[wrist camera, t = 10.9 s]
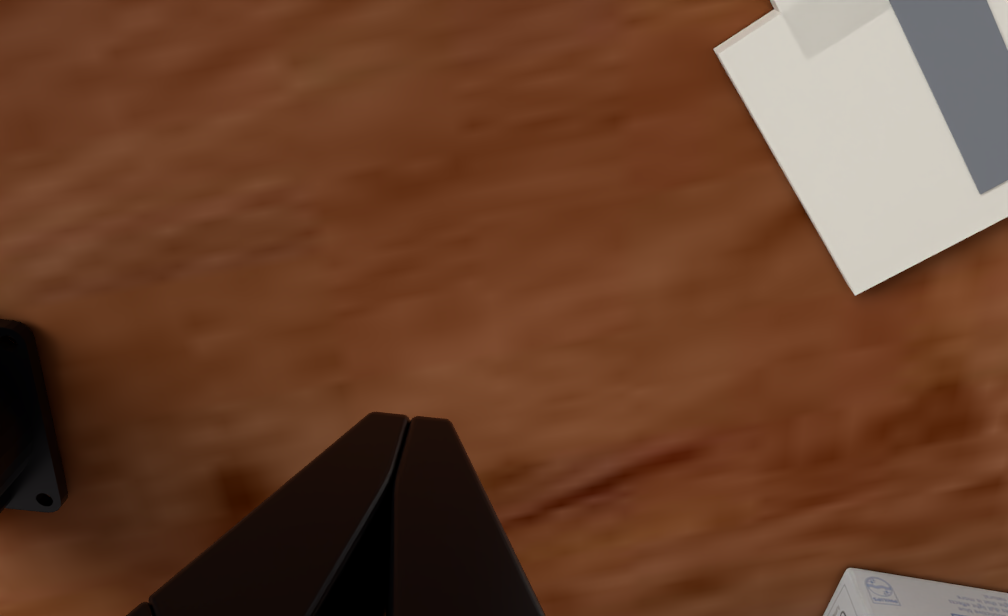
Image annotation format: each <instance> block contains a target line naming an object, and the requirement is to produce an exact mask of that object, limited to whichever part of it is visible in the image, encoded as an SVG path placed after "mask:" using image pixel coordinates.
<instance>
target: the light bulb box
mask: <svg viewBox="0 0 1008 616" xmlns="http://www.w3.org/2000/svg"><path fill="white" fill-rule="evenodd" d="M823 616H1008V593H1004V592H998V591H992V590H986V589H980V588H974V587H968V586H962V585H956V584H949V583H943V582H937V581H931V580H925V579H918V578H912V577H906V576H900V575H893V574H887V573H881V572H875V571H869V570H863V569H857V568H848V569H847V570H846V571H845V573H844V575H843V577H842V579H841V581H840V583H839V585H838V587H837V589H836V591H835V593H834V595H833V596H832V598H831V600H830V603H829V605H828V607H827V609H826V611H825V613H824V615H823Z"/></svg>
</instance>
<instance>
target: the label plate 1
mask: <svg viewBox="0 0 1008 616" xmlns="http://www.w3.org/2000/svg"><path fill="white" fill-rule="evenodd" d="M816 1H817V2H816ZM770 2H771V4H772V6H773V8H774V9H775V10H776V11H778V12H780V13H781V14H782V16H783V18H784V20H785V22H786V24H787V26H788V28H789V30H790V31H791V33H792V35H793V37H794V39H795V41H796V43H797V45H798V47H799V49H800V50H801V52H802V54H803V56H804V58H805V60H806V61H808V60H809V59H811V58H812V57H814V56H816V55H817V54H819V53H820V52H822V51H824V50H825V49H827V48H828V47H830V46H832V45H833V44H835V43H836V42H838V41H840V40H841V39H843V38H845V37H846V36H848V35H849V34H851V33H853V32H854V31H856V30H857V29H859V28H861V27H862V26H864V25H865V24H867V23H869V22H870V21H872V20H873V19H875V18H877V17H878V16H880V15H881V14H883V13H885V12H886V11H888V10H889V9H891V8H892V6H891V4H890V2H889V0H854V1H853V0H821V1H820V0H770ZM802 3H803V4H802ZM835 6H836V7H835ZM800 8H801V9H802V10H801V9H800ZM809 8H810V9H809ZM826 8H827V9H826ZM859 9H860V10H859ZM785 10H786V11H785ZM788 10H789V11H788ZM867 11H868V12H867ZM805 12H806V13H805ZM808 12H809V13H808ZM797 14H798V15H797ZM875 15H876V16H875ZM847 16H848V17H847ZM851 16H852V17H851ZM799 20H800V21H799ZM805 21H806V22H805ZM805 23H806V24H805ZM793 25H794V26H793ZM840 25H841V26H840ZM814 27H815V28H814ZM793 29H794V30H793ZM810 31H811V32H810ZM812 31H813V32H812ZM829 32H830V33H829ZM843 32H844V33H843ZM806 36H807V37H806ZM803 37H804V38H803ZM800 43H801V44H800ZM808 53H809V54H808Z"/></svg>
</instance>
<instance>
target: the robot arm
mask: <svg viewBox="0 0 1008 616" xmlns="http://www.w3.org/2000/svg"><path fill="white" fill-rule="evenodd" d="M8 336H10V337H12V338H13V339H14V340H16V342H17V344H16V343H13V342H12V341H11V340H10V339H9V337H8ZM46 494H47V495H46ZM48 495H49V496H48ZM67 498H68V491H67V487H66V482H65V477H64V473H63V468H62V463H61V458H60V454H59V449H58V444H57V440H56V435H55V430H54V426H53V421H52V416H51V412H50V407H49V402H48V398H47V393H46V388H45V384H44V379H43V374H42V370H41V365H40V360H39V356H38V351H37V346H36V342H35V337H34V335H33V333H32V331H31V330H30V329H29V328H28V327H27V326H26V325H24V324H22V323H21V322H17V321H14V320H4V319H0V513H1V512H2V511H3V510H4V508H10V509H19V510H29V511H39V512H55V511H57V510H58V509H59V508H60V507H61V506H62V504H63V503H64V502H65V500H66V499H67ZM126 616H545V613H544V611H543V609H542V607H541V605H540V603H539V601H538V599H537V597H536V595H535V593H534V591H533V589H532V587H531V585H530V583H529V581H528V578H527V576H526V574H525V572H524V570H523V568H522V566H521V564H520V562H519V560H518V558H517V556H516V554H515V552H514V550H513V548H512V546H511V543H510V541H509V539H508V537H507V535H506V533H505V531H504V529H503V527H502V525H501V523H500V521H499V519H498V517H497V515H496V513H495V511H494V509H493V506H492V504H491V502H490V500H489V498H488V496H487V494H486V492H485V490H484V488H483V486H482V484H481V482H480V480H479V478H478V476H477V474H476V471H475V469H474V467H473V465H472V463H471V461H470V459H469V457H468V455H467V453H466V451H465V449H464V447H463V445H462V443H461V441H460V439H459V436H458V434H457V432H456V430H455V428H454V426H453V424H452V423H451V422H450V421H449V420H448V419H441V418H431V417H421V416H416V417H414V418H412V420H411V421H410V420H409V418H408V417H407V416H406V415H401V414H392V413H382V412H372V413H369V414H368V415H367V416H365V417H364V418H363V419H362V420H361V421H359V422H358V423H357V424H356V425H355V426H353V427H352V428H351V429H350V430H349V431H347V432H346V433H345V434H344V435H343V436H341V437H340V438H339V439H338V440H337V441H335V442H334V443H333V444H332V445H331V446H329V447H328V448H327V449H326V450H325V451H323V452H322V453H321V454H320V455H319V456H317V457H316V458H315V459H314V460H313V461H311V462H310V463H309V464H308V465H307V466H305V467H304V468H303V469H302V470H301V471H299V472H298V473H297V474H296V475H295V476H293V477H292V478H291V479H290V480H289V481H287V482H286V483H285V484H284V485H283V486H282V487H280V488H279V489H278V490H277V491H276V492H274V493H273V494H272V495H271V496H270V497H268V498H267V499H266V500H265V501H264V502H262V503H261V504H260V505H259V506H258V507H256V508H255V509H254V510H253V511H252V512H250V513H249V514H248V515H247V516H246V517H244V518H243V519H242V520H241V521H240V522H238V523H237V524H236V525H235V526H234V527H232V528H231V529H230V530H229V531H228V532H226V533H225V534H224V535H223V536H222V537H220V538H219V539H218V540H217V541H216V542H214V543H213V544H212V545H211V546H210V547H208V548H207V549H206V550H205V551H204V552H202V553H201V554H200V555H199V556H198V557H196V558H195V559H194V560H193V561H192V562H190V563H189V564H188V565H187V566H186V567H184V568H183V569H182V570H181V571H180V572H178V573H177V574H176V575H175V576H174V577H172V578H171V579H170V580H169V581H168V582H166V583H165V584H164V585H163V586H162V587H160V588H159V589H158V590H157V591H156V592H154V593H153V594H152V595H151V596H150V597H149V603H147V602H143V603H141V604H140V605H138V606H137V607H136V608H135V609H134V610H132V611H131V612H130V613H129V614H128V615H126Z"/></svg>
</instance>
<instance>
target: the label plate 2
mask: <svg viewBox="0 0 1008 616" xmlns="http://www.w3.org/2000/svg"><path fill="white" fill-rule="evenodd" d="M820 1H821V0H820ZM853 1H854V0H853ZM816 2H817V1H816ZM889 2H890V4H891V6H892V8H891V9H889V10H888V11H886V12H885V13H883V14H881V15H880V16H878V17H877V18H875V19H873V20H872V21H870V22H869V23H867V24H865V25H864V26H862V27H861V28H859V29H857V30H856V31H854V32H853V33H851V34H849V35H848V36H846V37H845V38H843V39H841V40H840V41H838V42H836V43H835V44H833V45H832V46H830V47H828V48H827V49H825V50H824V51H822V52H820V53H819V54H817V55H816V56H814V57H812V58H811V59H809V60H808V61H806V60H805V58H804V56H803V54H802V52H801V50H800V49H799V47H798V45H797V43H796V41H795V39H794V37H793V35H792V33H791V31H790V30H789V28H788V26H787V24H786V22H785V20H784V18H783V16H782V14H781V13H780V12H778V11H776V10H775V9H774V10H772V11H771V12H769V13H768V14H766V15H765V16H763V17H761V18H760V19H758V20H757V21H755V22H754V23H752V24H751V25H749V26H748V27H746V28H745V29H743V30H742V31H740V32H738V33H737V34H735V35H734V36H732V37H731V38H729V39H728V40H726V41H725V42H723V43H722V44H720V45H719V46H717V47H716V48H714V49H713V50H714V52H715V53H716V55H717V57H718V59H719V60H720V62H721V64H722V66H723V67H724V69H725V71H726V73H727V74H728V76H729V78H730V80H731V81H732V83H733V85H734V87H735V88H736V90H737V92H738V94H739V95H740V97H741V99H742V101H743V102H744V104H745V106H746V108H747V110H748V111H749V113H750V115H751V117H752V118H753V120H754V122H755V124H756V125H757V127H758V129H759V131H760V132H761V134H762V136H763V138H764V139H765V141H766V143H767V145H768V146H769V148H770V150H771V152H772V153H773V155H774V157H775V159H776V160H777V162H778V164H779V166H780V167H781V169H782V171H783V173H784V174H785V176H786V178H787V180H788V181H789V183H790V185H791V187H792V188H793V190H794V192H795V194H796V195H797V197H798V199H799V201H800V202H801V204H802V206H803V208H804V209H805V211H806V213H807V215H808V216H809V218H810V220H811V222H812V223H813V225H814V227H815V229H816V230H817V232H818V234H819V236H820V237H821V239H822V241H823V243H824V244H825V246H826V248H827V250H828V251H829V253H830V255H831V257H832V259H833V260H834V262H835V264H836V266H837V267H838V269H839V271H840V273H841V274H842V276H843V278H844V280H845V281H846V283H847V285H848V286H849V288H850V289H851V291H852V292H853V293H854V295H855V296H856V295H858V294H860V293H861V292H863V291H865V290H867V289H869V288H871V287H873V286H875V285H877V284H879V283H881V282H883V281H885V280H887V279H888V278H890V277H892V276H894V275H896V274H898V273H900V272H902V271H904V270H906V269H908V268H910V267H912V266H914V265H916V264H917V263H919V262H921V261H923V260H925V259H927V258H929V257H931V256H933V255H935V254H937V253H939V252H941V251H943V250H944V249H946V248H948V247H950V246H952V245H954V244H956V243H958V242H960V241H962V240H964V239H966V238H968V237H970V236H971V235H973V234H975V233H977V232H979V231H981V230H983V229H985V228H987V227H989V226H991V225H993V224H995V223H997V222H998V221H1000V220H1002V219H1004V218H1006V217H1008V0H889ZM802 4H803V3H802ZM835 7H836V6H835ZM800 9H801V8H800ZM809 9H810V8H809ZM826 9H827V8H826ZM801 10H802V9H801ZM859 10H860V9H859ZM785 11H786V10H785ZM788 11H789V10H788ZM867 12H868V11H867ZM805 13H806V12H805ZM808 13H809V12H808ZM797 15H798V14H797ZM875 16H876V15H875ZM847 17H848V16H847ZM851 17H852V16H851ZM799 21H800V20H799ZM805 22H806V21H805ZM805 24H806V23H805ZM793 26H794V25H793ZM840 26H841V25H840ZM814 28H815V27H814ZM793 30H794V29H793ZM810 32H811V31H810ZM812 32H813V31H812ZM829 33H830V32H829ZM843 33H844V32H843ZM806 37H807V36H806ZM803 38H804V37H803ZM800 44H801V43H800ZM808 54H809V53H808Z"/></svg>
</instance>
